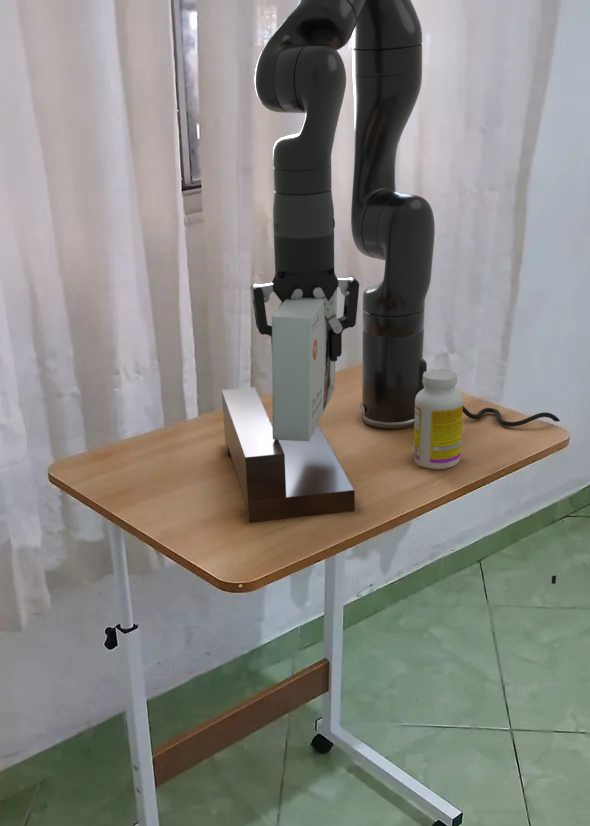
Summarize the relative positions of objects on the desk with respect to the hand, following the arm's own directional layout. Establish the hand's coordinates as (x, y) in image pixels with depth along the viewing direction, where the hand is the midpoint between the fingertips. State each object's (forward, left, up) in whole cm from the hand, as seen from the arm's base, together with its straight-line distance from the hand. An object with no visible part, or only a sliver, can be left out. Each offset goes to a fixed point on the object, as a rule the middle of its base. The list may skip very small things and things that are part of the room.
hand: (306, 361), depth 136 cm
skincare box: (0, 0, -7) cm, 7 cm away
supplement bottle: (-19, 0, -16) cm, 25 cm away
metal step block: (+3, 0, -16) cm, 17 cm away
